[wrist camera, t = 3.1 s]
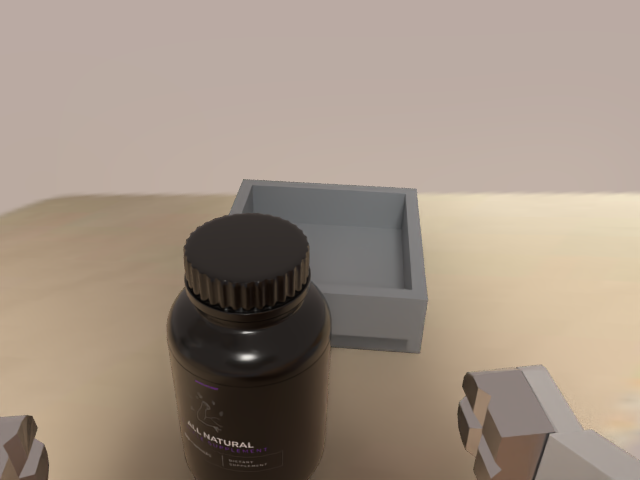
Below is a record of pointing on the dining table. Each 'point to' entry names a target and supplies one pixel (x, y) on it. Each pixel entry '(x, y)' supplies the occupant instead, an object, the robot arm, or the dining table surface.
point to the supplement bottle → (250, 351)
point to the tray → (356, 256)
